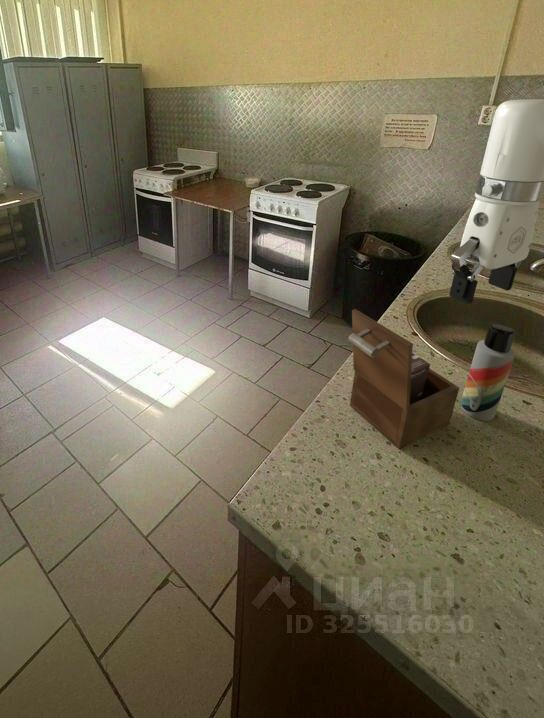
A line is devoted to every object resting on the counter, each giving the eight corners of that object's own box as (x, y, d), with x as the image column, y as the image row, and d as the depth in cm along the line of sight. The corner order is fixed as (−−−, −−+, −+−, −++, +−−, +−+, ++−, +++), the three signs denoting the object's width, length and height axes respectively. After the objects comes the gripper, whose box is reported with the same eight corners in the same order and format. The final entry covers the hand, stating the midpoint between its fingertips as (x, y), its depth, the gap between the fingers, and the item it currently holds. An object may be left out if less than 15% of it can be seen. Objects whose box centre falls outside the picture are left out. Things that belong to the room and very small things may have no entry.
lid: (355, 308, 72) (333, 319, 71) (412, 343, 62) (389, 357, 61) (356, 367, 78) (336, 379, 77) (409, 408, 68) (387, 422, 67)
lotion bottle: (456, 410, 80) (479, 326, 72) (464, 396, 83) (488, 314, 76) (490, 426, 76) (518, 339, 68) (497, 411, 79) (525, 326, 72)
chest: (397, 385, 87) (404, 351, 83) (449, 423, 77) (459, 387, 73) (349, 405, 82) (354, 370, 78) (398, 449, 71) (407, 411, 68)
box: (399, 424, 76) (410, 373, 71) (379, 408, 79) (388, 359, 75) (419, 413, 78) (431, 363, 74) (399, 398, 82) (409, 350, 78)
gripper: (499, 203, 51) (469, 317, 57) (573, 187, 57) (538, 291, 63) (443, 191, 57) (421, 294, 63) (515, 178, 64) (489, 273, 70)
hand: (480, 293), depth 63 cm, fingers open, 9 cm apart
